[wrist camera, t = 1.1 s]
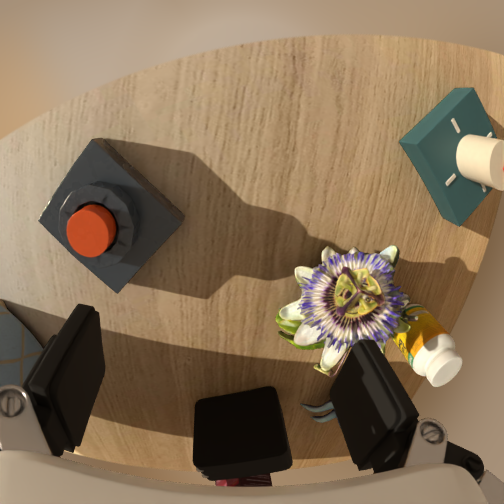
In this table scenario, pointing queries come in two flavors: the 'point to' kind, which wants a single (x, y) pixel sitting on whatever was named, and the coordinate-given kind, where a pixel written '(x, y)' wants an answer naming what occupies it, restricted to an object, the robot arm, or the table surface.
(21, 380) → the planter
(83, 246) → the button
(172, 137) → the table surface
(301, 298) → the passion flower
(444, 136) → the dial panel
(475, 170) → the program dial
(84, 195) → the housing
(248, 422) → the electronic device
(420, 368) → the supplement bottle
